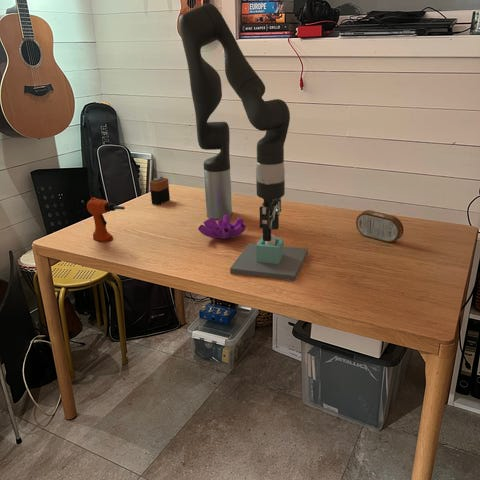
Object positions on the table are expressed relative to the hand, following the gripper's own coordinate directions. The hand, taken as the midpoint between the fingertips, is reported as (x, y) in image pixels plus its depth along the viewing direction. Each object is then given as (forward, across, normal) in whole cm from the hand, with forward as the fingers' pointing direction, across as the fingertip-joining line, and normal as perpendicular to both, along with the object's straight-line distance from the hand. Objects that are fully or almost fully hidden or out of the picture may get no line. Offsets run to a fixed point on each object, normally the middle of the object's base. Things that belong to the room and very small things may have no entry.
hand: (270, 234), depth 135 cm
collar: (+7, 0, 0) cm, 7 cm away
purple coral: (+9, -15, -19) cm, 26 cm away
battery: (+9, -43, -56) cm, 71 cm away
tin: (+9, -24, +28) cm, 38 cm away
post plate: (+8, 0, 0) cm, 9 cm away
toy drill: (+9, -3, -54) cm, 55 cm away
